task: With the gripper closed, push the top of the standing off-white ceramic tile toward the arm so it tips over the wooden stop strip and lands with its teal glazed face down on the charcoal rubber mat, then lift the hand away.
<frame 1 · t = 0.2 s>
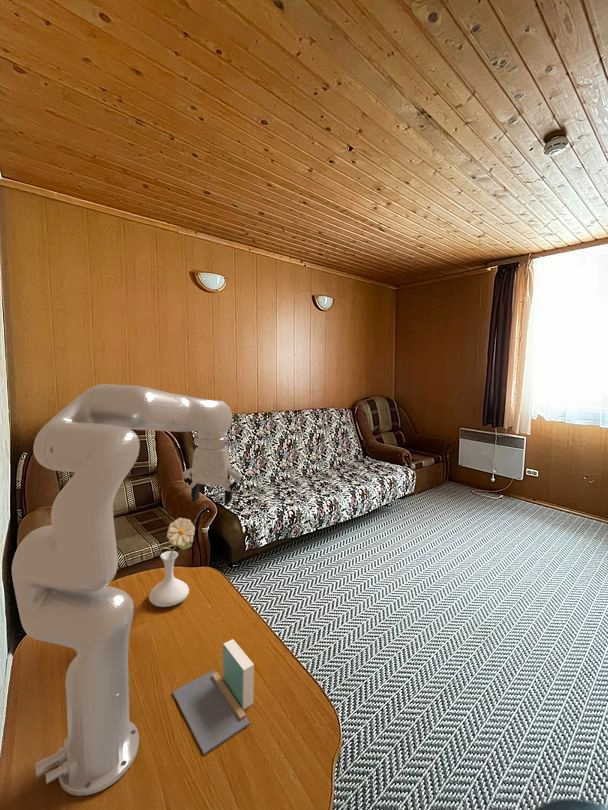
hand: (211, 501, 106), 31 cm above the table, tool pointing down, fingers open, 9 cm apart
charcoal mat: (209, 708, 76), on the table
flower in vase: (172, 598, 111), on the table
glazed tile: (237, 691, 80), on the table
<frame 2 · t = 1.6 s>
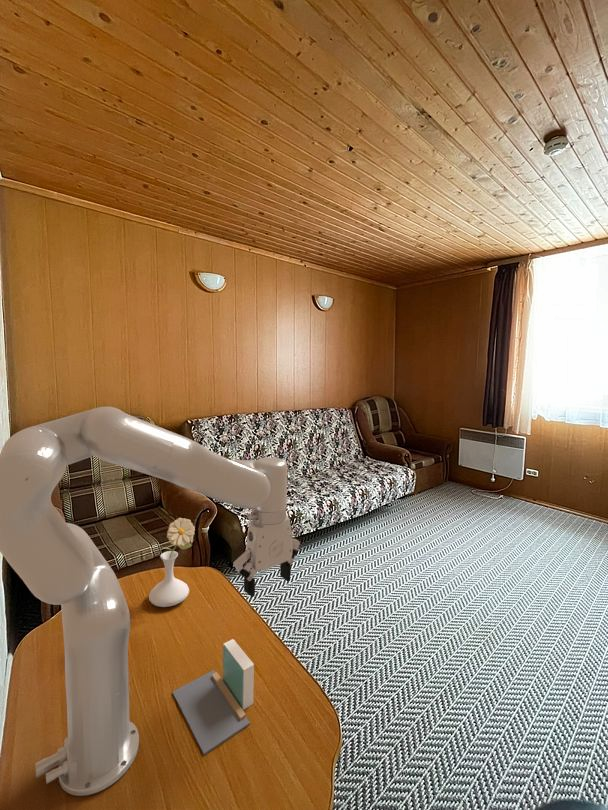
hand: (268, 585, 84), 21 cm above the table, tool pointing down, fingers open, 9 cm apart
nothing on the table moved.
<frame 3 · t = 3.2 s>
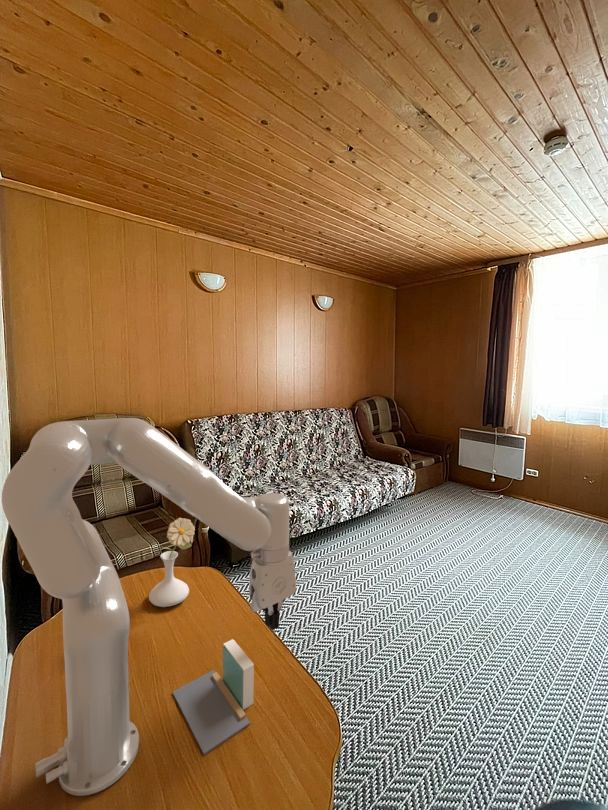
hand: (272, 625, 84), 12 cm above the table, tool pointing down, fingers closed
nothing on the table moved.
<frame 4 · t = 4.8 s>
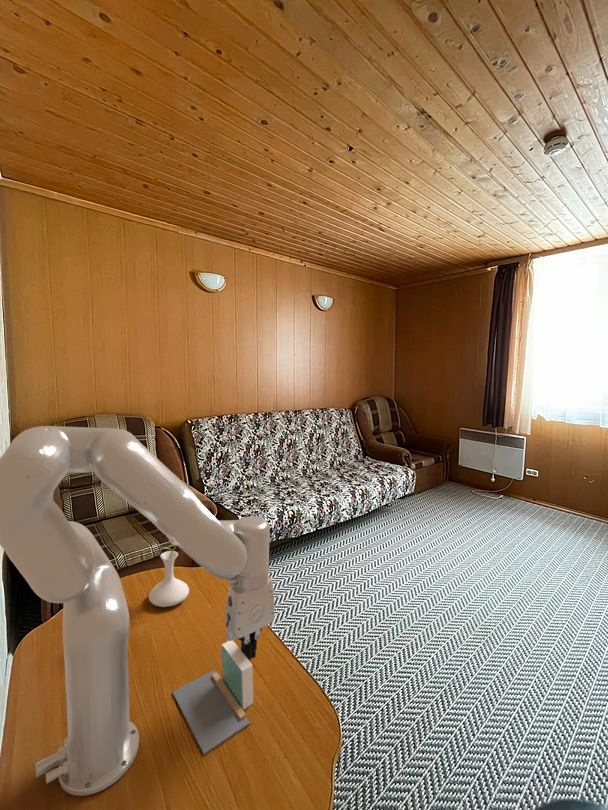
hand: (248, 654, 81), 7 cm above the table, tool pointing down, fingers closed
nothing on the table moved.
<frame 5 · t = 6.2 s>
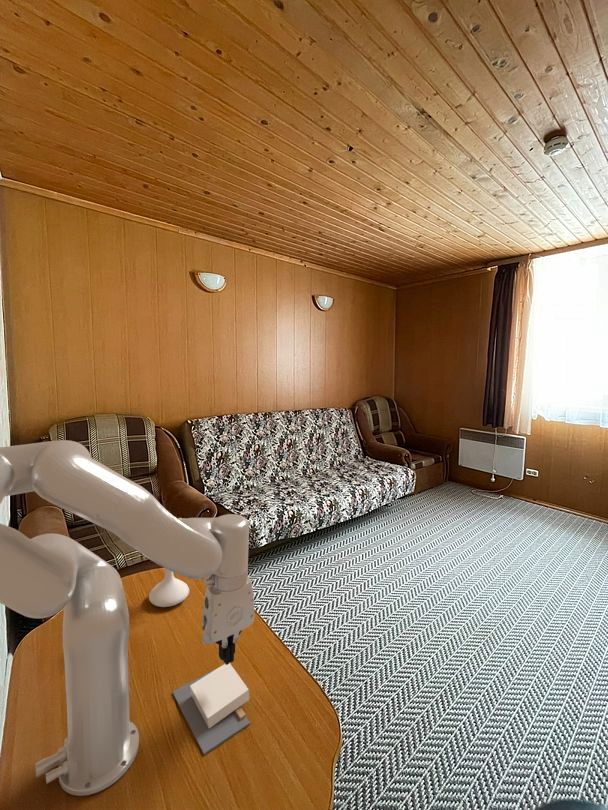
hand: (226, 658, 78), 9 cm above the table, tool pointing down, fingers closed
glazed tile: (238, 679, 80), point 3 cm above the table, tilted 96°, touching charcoal mat
everything else where it was.
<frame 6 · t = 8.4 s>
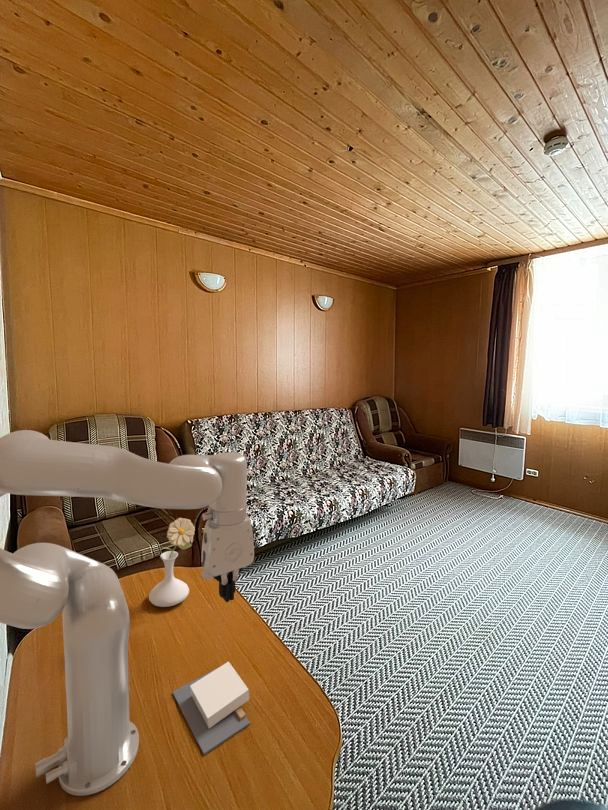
hand: (227, 597, 78), 22 cm above the table, tool pointing down, fingers closed
nothing on the table moved.
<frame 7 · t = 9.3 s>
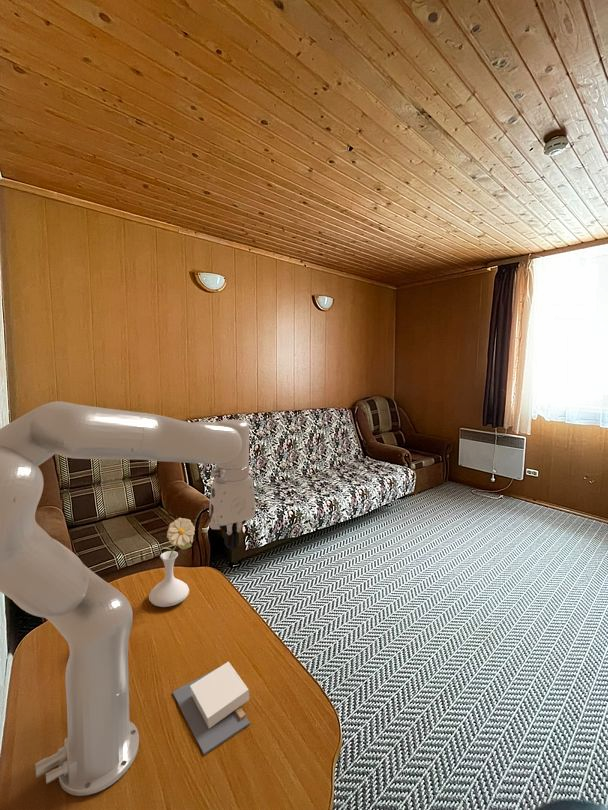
hand: (231, 547, 88), 27 cm above the table, tool pointing down, fingers closed
nothing on the table moved.
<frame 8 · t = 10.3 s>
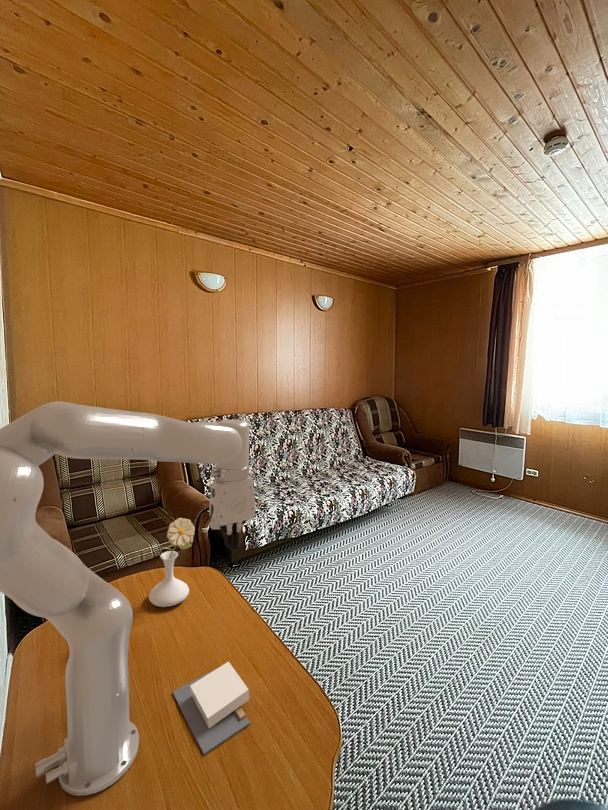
hand: (231, 547, 88), 27 cm above the table, tool pointing down, fingers closed
nothing on the table moved.
at the end: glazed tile tilted 96°; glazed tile touching charcoal mat; the gripper is holding nothing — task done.
